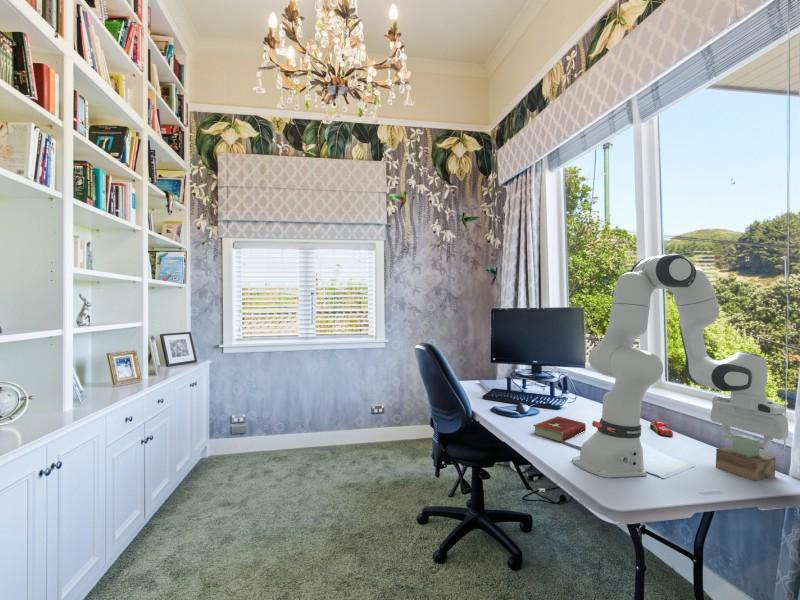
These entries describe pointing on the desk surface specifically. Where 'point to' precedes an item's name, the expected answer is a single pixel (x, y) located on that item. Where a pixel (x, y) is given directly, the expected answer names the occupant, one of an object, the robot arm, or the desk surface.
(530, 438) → the desk surface
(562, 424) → the hardcover book
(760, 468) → the block
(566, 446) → the desk surface
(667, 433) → the race car
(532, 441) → the desk surface
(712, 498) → the desk surface
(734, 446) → the cube
